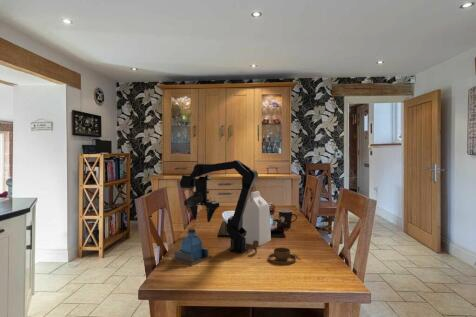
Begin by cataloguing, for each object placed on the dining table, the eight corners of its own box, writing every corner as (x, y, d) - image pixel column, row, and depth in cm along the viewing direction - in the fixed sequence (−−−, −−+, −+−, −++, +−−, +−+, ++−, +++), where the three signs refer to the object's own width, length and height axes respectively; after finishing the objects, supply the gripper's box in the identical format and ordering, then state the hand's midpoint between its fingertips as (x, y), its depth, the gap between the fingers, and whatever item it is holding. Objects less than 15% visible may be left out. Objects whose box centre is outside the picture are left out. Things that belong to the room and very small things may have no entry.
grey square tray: (211, 257, 136) (211, 248, 136) (191, 265, 126) (191, 256, 126) (191, 252, 143) (191, 244, 143) (171, 260, 133) (171, 250, 133)
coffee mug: (275, 226, 195) (275, 210, 195) (287, 224, 199) (287, 209, 199) (286, 230, 185) (286, 213, 184) (298, 228, 188) (298, 212, 188)
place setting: (268, 268, 124) (268, 253, 124) (250, 253, 143) (250, 240, 143) (306, 263, 130) (306, 249, 130) (284, 249, 149) (284, 237, 149)
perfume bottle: (191, 259, 130) (191, 231, 130) (181, 257, 134) (181, 229, 134) (201, 256, 135) (201, 228, 135) (191, 253, 139) (191, 226, 139)
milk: (252, 237, 170) (252, 190, 169) (270, 240, 163) (270, 191, 163) (240, 242, 160) (239, 192, 159) (259, 245, 153) (259, 193, 153)
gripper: (175, 189, 150) (176, 221, 150) (204, 192, 139) (204, 226, 139) (192, 187, 159) (192, 217, 159) (219, 189, 148) (220, 222, 148)
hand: (201, 220), depth 151 cm, fingers open, 9 cm apart
